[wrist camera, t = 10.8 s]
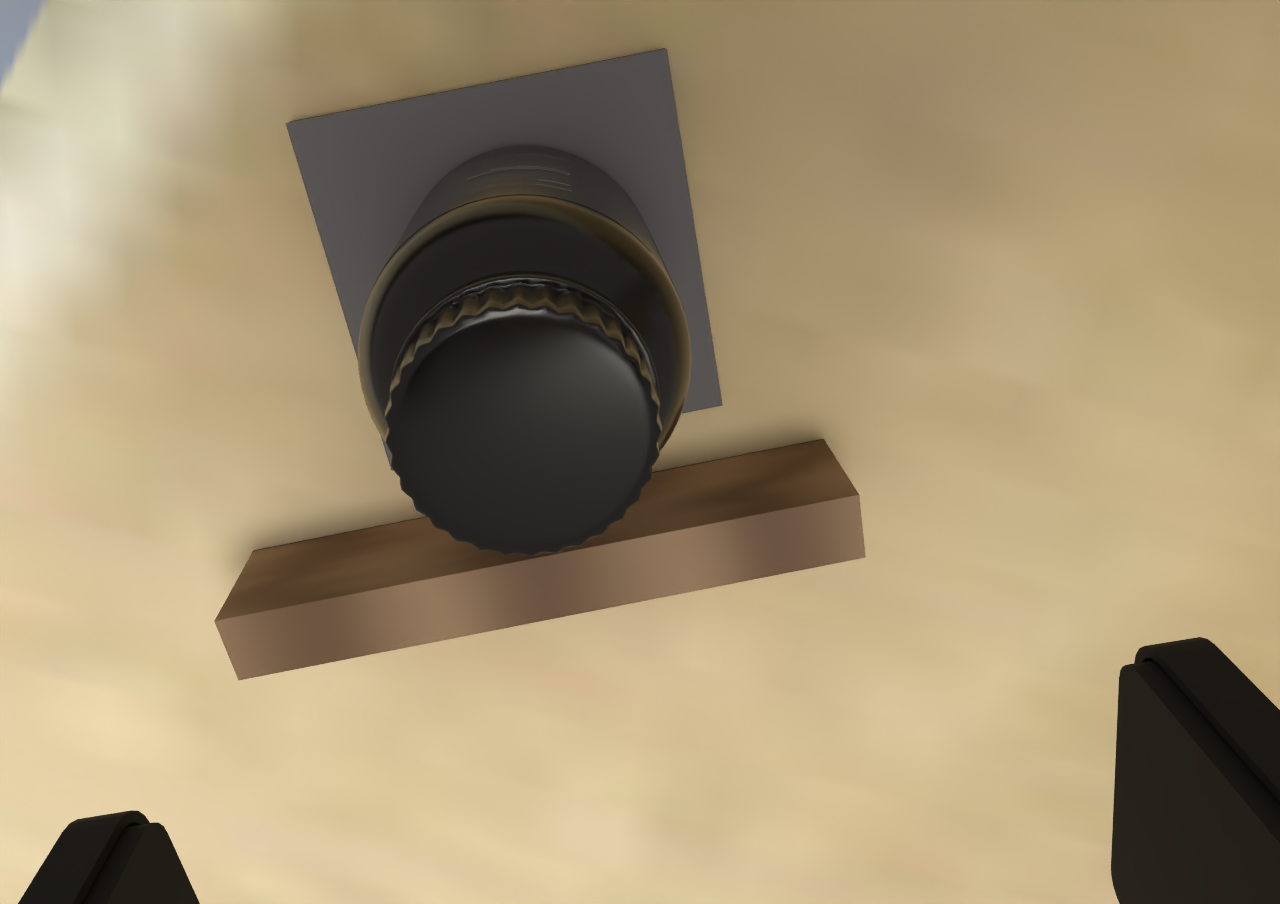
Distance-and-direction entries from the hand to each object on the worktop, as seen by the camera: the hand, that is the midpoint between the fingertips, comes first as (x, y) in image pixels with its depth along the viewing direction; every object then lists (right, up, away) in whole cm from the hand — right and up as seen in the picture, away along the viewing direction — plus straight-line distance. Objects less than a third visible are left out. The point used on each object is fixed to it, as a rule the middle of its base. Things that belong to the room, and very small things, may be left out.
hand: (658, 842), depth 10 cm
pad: (-4, +9, +19) cm, 21 cm away
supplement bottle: (-3, +9, +19) cm, 21 cm away
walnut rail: (-3, +2, +22) cm, 22 cm away
